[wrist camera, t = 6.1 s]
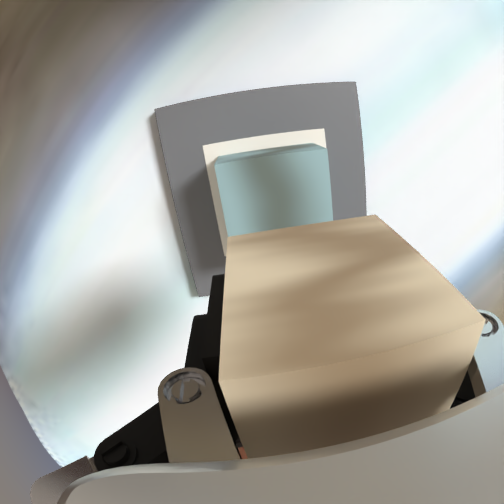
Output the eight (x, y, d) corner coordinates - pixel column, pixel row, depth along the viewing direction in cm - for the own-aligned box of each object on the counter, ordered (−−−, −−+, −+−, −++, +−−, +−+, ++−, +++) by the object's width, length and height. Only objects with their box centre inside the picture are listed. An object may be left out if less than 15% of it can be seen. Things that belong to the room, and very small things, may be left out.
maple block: (375, 214, 10) (485, 319, 5) (370, 329, 12) (427, 447, 7) (227, 236, 10) (218, 380, 5) (251, 351, 12) (259, 487, 7)
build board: (351, 82, 21) (356, 81, 20) (362, 264, 28) (366, 270, 27) (157, 109, 21) (154, 109, 20) (199, 290, 28) (198, 297, 27)
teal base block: (312, 142, 22) (327, 148, 18) (321, 229, 25) (334, 250, 21) (218, 156, 22) (214, 164, 18) (234, 243, 25) (234, 266, 21)
